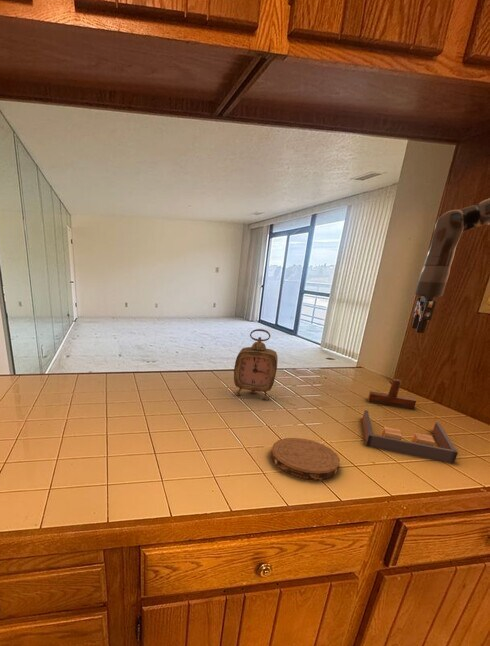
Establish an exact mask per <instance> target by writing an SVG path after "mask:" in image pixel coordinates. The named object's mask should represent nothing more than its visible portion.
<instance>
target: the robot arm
mask: <svg viewBox="0 0 490 646" xmlns="http://www.w3.org/2000/svg"><path fill="white" fill-rule="evenodd" d="M489 225H490V197H489V198H487V199H484V200H481V201H479V202H478V203H476V204H473V205H469V206H466V207H463V208H460V209H451V210H447V211H445V212H444V213H442V214H441V215H440V216H439V218H438V219H437V220H436V222H435V226H434V231H433V235H432V239H431V243H430V247H429V248H428V251H427V253H426V257H425V260H424V263H423V266H422V269H421V271H420V274H419V278H418V281H417V285H416V288H415V291H414V295H415V296H419V297H417V301H416V305H415V307H414V311H413V321H412V324H411V329H413V330H415V332H416V333H417V334H424V333H425V332H426V329H427V325H428V323H429V321H431V320H432V317H433V313H434V310H435V307H436V304H437V301H435V300H434V298H439V297H442V296H444V292H445V289H446V286H447V283H448V280H449V276H450V274H451V273H450V272H451V266H452V263H453V261H454V258H455V253H456V249H457V246H458V243H459V241H460V239H461V236H462V234H463V233H465V232H467V231H470V230H472V229H475V228H479V227H483V226H489Z"/></svg>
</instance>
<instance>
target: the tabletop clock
mask: <svg viewBox="0 0 490 646" xmlns="http://www.w3.org/2000/svg"><path fill="white" fill-rule="evenodd" d="M255 332H264V333H266V334H267V335H268V337H267V338H264V339H263V338H262V337H261V336H258V337H257V338H254V337H253V335H252V334H253V333H255ZM249 337H250V339H251V340H253V341H255V342H254V343H252V345H251V346H247V347H246V346H245V347H242V348H241V349H240V351H239V352H238V354H237V356H236V358H235V362H234V366H233V367H234V368H233V382H234V385H235V387H237V388H239V389H238V390H236V391H235V392H234V394H235V396H237V397H238V396H240V392H241V391H242V390H247V391H250V393H251V394H253V395H254V394H256V393H257V392H263V393H264V395H265V396H264V400H266V401H268V400H269V399H270V396H269V395H268V394H267V392H270V391H271V390H272V388H273V386H274V383H275V378H276V375H277V371H278V362H279V361H278V354H277V351H275V350H274V349H271V348H267V346H266V343H264V342H266V341H269V340H270V339H271V333H270V332H269V330H267V329H262V328H256V329H253V330H252V331H251V332H250V334H249Z"/></svg>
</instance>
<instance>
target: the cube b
mask: <svg viewBox="0 0 490 646" xmlns="http://www.w3.org/2000/svg"><path fill="white" fill-rule="evenodd" d="M411 442H414V443H419V444H424V445H429V446H435V443H436V442H435V440H434V436H433V435H429V434H426V433H425V434H424V433H419V432H414V433H413V435H412V438H411Z"/></svg>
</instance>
